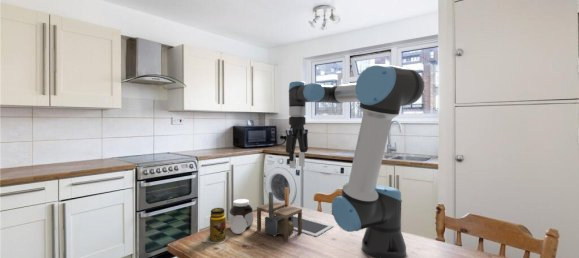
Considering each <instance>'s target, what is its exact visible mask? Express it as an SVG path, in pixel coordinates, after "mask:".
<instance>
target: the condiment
mask: <svg viewBox="0 0 579 258" xmlns="http://www.w3.org/2000/svg"><path fill="white" fill-rule="evenodd" d="M225 214H226V213H225V209H224V208H223V207H215V208H212V209H211V210H210V216H209V234H208V235H207V236H206V237H205V238H204V239H203V240H202V241H201V242H202V243H210V244H223V243H224V242H226V240H227V239H228V238H229V236H230V235H229V234H228V235H227V234H226V229H227V228H226V227H227V226H226V225H227V223H226V220H227V219H226V218H227V217H226V215H225Z"/></svg>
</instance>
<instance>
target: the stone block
mask: <svg viewBox="0 0 579 258" xmlns="http://www.w3.org/2000/svg"><path fill="white" fill-rule="evenodd" d="M294 231H295V230H294V223H293V222H292V221H289V220H288V236H290V235H291V234H293V232H294ZM277 235H283V236H284V220H283V219H279V220H277Z"/></svg>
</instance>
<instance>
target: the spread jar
mask: <svg viewBox="0 0 579 258" xmlns="http://www.w3.org/2000/svg"><path fill="white" fill-rule="evenodd" d="M228 215H229V218H228V219H229V220H228V221H229V224H230V230H231V231H232V232H233V233H234V234H237V235H238V234H242V233H244V232H245V231H246V230H247V229H249V228H250V227H251V226H252V225H253V223H254V209H253V207H252V206H251V204H250V200H249V199H248V198H238V199H235V200H233V205H232V206H231V208H230V209H229V213H228Z"/></svg>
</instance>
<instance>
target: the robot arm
mask: <svg viewBox="0 0 579 258" xmlns="http://www.w3.org/2000/svg"><path fill="white" fill-rule="evenodd" d="M424 91H425V81H424V78H423V77H422V75H421V74H420V73H419V72H418V71H416V70H415V69H412V68H408V67H402V66H401V67H400V66H395V65H390V64H379V63H378V64H377V63H376V64H371V65H369V66H368V67H366V68H365V69H364V70H362V71H361V73H359V75H358V77H357V80H356V81H355V82H354V83H348V84H347V83H346V84H338V85H327V84H320V83H318V82H310V83H306V82H305V81H301V80H299V81H298V80H297V81H291V82H289V85H288V107H289V109H288V115H289V118H288V125H289V126H290V127H289V129H286V130H285V135H286V136H285V137H286V138H285V139H286V140H285V141H286V142H285V152H286V153H287V154H288V160H289V169H293V170H294V169H296V166H297V165H296V159H297V158H296V153H295V151H296V145H297V142H298V147H299V152H298V167H303V168H304V167H306V166H305V159H306V153H307V152H308V150H309V142H308V141H309V139H308V134H309V129H305V127H304V126H305V125H307V124H306V123H307V122H306V120H307V118H306V117H305V116H306V115H307V114H306V113H307V112H306V111H307V110H306V105H307V104H306V103H324V104H325V103H327V104H329V103H330V104H343V103H359V106H358V107H359V109H360V110H361V112H362V118H361V122H360V128H359V132H358V136H357V141H356V147H355V151H354V155H353V160H352V164H351V169H350V175H349V178H348V182H347V183H344V185H342V191H341V194H340V195H337V196H336V197H335V198H333V200H332V202H331V213H332V216H333V219H334V221H335V222H336V225H338V227H339V228H341V229H342V230H343V231H345V232H348V233H351V232H359V231H361V230H364V229H365V231H364V235H363V237H362V241H361V247H362V248H361V249H362V250H363V251H364V253H366V254H368V255H369V256H372V257H374V258H405V257H406V255H407V246H406V242H405V238H404V236H403V233H402V202H403V200H402V192H401V190H399V189H398V188H396V187H391V186H387V185H382V184H377V182H378V179H379V175H380V170H381V167H382V164H383V163H382V162H383V159H384V153H385V149H386V146H387V141H388V137H389V133H390V128H391V126H392V125H391V124H392V121H393V119H394V118H396V117H397V116H399V115H400V110H401V106H402V107H405V106H410V105H413V104H414V103H416V102H417V101H419V100H420V98H421V97H422V95H423V93H424Z"/></svg>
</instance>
